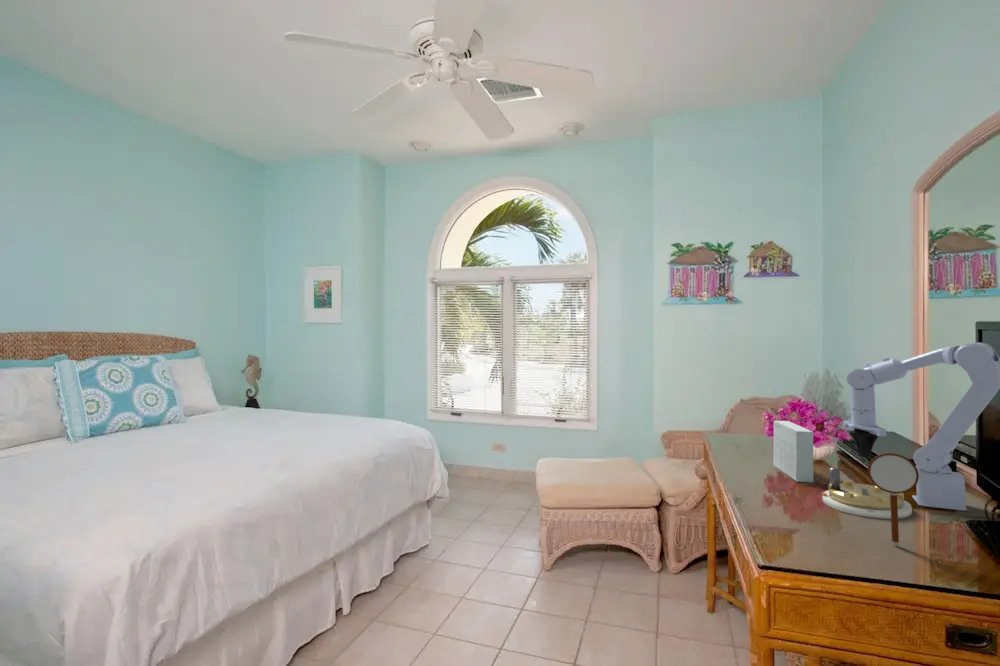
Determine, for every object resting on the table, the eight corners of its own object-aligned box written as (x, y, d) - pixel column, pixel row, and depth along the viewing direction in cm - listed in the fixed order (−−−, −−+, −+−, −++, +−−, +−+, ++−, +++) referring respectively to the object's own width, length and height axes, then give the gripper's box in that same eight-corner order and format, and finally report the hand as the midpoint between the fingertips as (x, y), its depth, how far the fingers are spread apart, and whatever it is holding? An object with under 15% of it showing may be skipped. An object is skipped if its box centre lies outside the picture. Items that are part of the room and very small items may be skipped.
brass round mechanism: (907, 514, 119) (906, 483, 119) (828, 503, 128) (827, 475, 128) (900, 495, 132) (899, 468, 132) (829, 487, 141) (828, 461, 141)
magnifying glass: (920, 548, 104) (917, 454, 104) (922, 551, 103) (918, 456, 103) (870, 540, 109) (866, 450, 109) (870, 543, 107) (867, 452, 108)
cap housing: (903, 499, 134) (902, 492, 134) (920, 523, 117) (920, 514, 117) (820, 490, 143) (819, 483, 143) (825, 511, 127) (825, 503, 127)
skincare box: (815, 483, 151) (814, 431, 151) (796, 482, 152) (794, 431, 152) (789, 465, 171) (788, 419, 172) (772, 465, 173) (771, 419, 173)
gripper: (832, 406, 150) (834, 451, 150) (867, 413, 135) (869, 463, 135) (855, 405, 150) (857, 450, 150) (893, 413, 135) (895, 462, 135)
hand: (864, 456), depth 142 cm, fingers closed
